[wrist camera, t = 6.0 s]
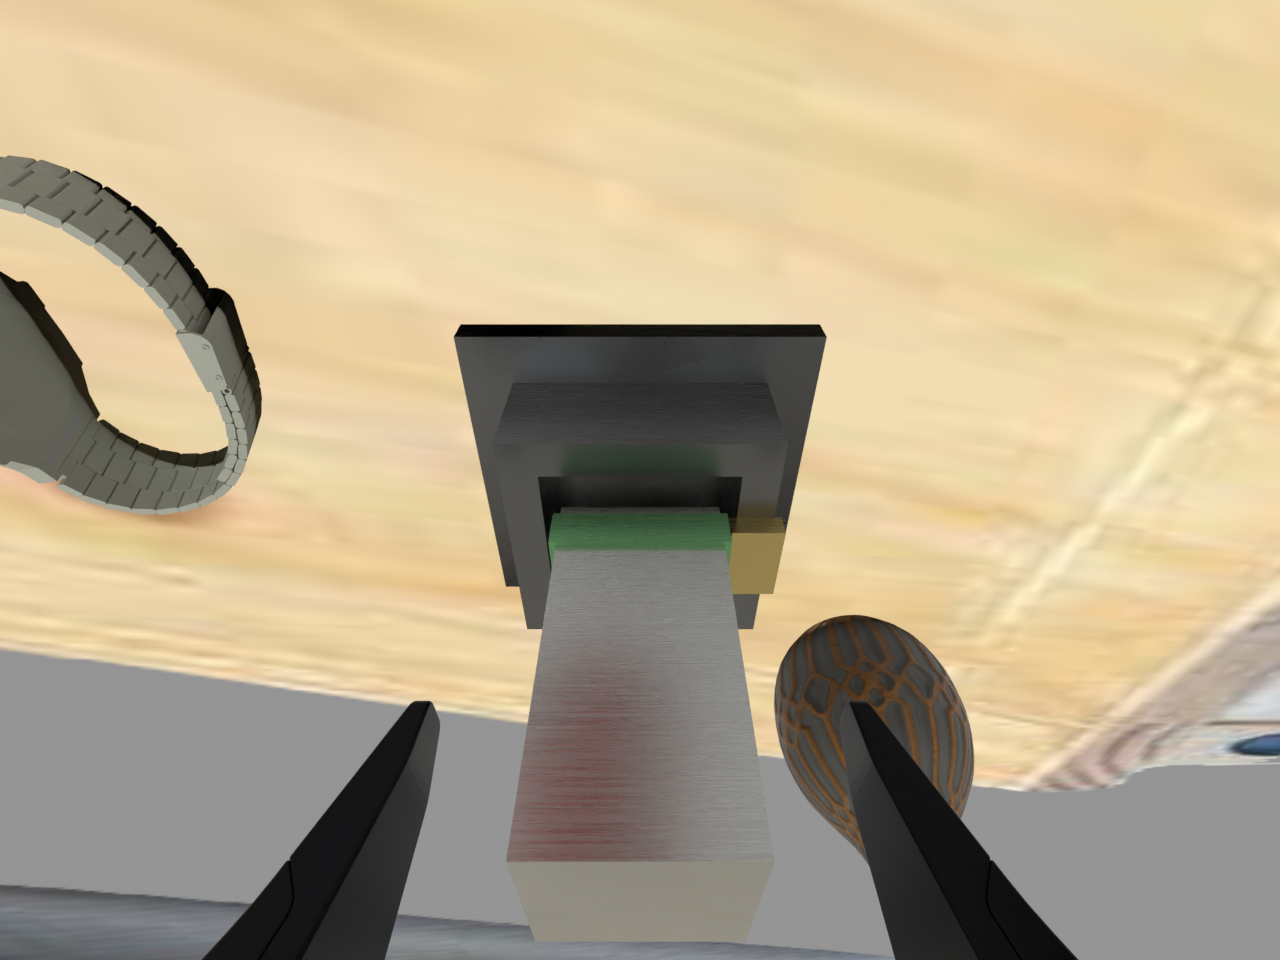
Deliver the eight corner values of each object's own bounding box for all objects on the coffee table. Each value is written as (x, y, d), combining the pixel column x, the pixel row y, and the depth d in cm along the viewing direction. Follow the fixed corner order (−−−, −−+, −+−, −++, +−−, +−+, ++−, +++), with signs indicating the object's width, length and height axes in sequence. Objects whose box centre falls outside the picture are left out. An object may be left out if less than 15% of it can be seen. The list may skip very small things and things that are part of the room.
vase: (959, 607, 24) (1085, 844, 17) (874, 697, 28) (948, 918, 22) (803, 576, 23) (872, 817, 16) (738, 675, 27) (771, 901, 20)
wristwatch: (-74, 143, 14) (-348, 198, 10) (197, 147, 14) (28, 202, 10) (129, 457, 20) (3, 569, 16) (321, 459, 20) (243, 571, 16)
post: (725, 502, 15) (786, 857, 9) (712, 612, 18) (751, 943, 11) (554, 502, 15) (494, 857, 9) (567, 612, 18) (528, 943, 11)
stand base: (820, 324, 17) (867, 407, 13) (770, 570, 23) (794, 671, 19) (460, 324, 17) (413, 408, 13) (509, 570, 23) (486, 671, 19)
